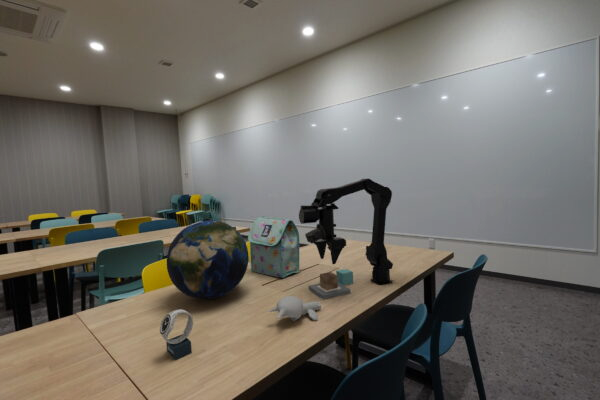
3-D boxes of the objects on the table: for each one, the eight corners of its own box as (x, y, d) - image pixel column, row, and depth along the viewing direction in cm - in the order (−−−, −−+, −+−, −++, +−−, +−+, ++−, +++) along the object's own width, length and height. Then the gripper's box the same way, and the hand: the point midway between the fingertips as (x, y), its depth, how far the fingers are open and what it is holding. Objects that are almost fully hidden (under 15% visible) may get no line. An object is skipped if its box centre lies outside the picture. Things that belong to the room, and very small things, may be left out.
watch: (159, 355, 76) (156, 313, 76) (189, 342, 82) (186, 304, 81) (166, 364, 72) (163, 320, 72) (198, 350, 78) (195, 309, 77)
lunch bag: (246, 272, 144) (243, 218, 142) (271, 264, 156) (268, 214, 155) (280, 281, 129) (277, 220, 127) (304, 271, 141) (301, 216, 140)
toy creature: (334, 305, 94) (286, 316, 81) (327, 324, 96) (279, 339, 83) (309, 283, 103) (263, 290, 90) (303, 301, 105) (256, 311, 92)
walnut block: (331, 284, 118) (330, 271, 118) (337, 287, 113) (337, 275, 113) (320, 286, 116) (319, 274, 116) (326, 290, 111) (325, 277, 111)
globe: (213, 279, 136) (208, 215, 134) (265, 288, 121) (261, 216, 119) (152, 304, 110) (146, 225, 108) (209, 320, 95) (203, 228, 93)
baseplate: (334, 283, 123) (334, 280, 123) (350, 293, 112) (350, 289, 112) (308, 289, 118) (308, 285, 118) (323, 299, 107) (322, 295, 107)
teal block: (346, 280, 127) (346, 268, 127) (353, 283, 122) (352, 271, 122) (336, 282, 125) (336, 270, 125) (343, 285, 120) (342, 273, 120)
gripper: (297, 221, 118) (299, 259, 119) (319, 226, 101) (320, 270, 102) (321, 218, 123) (323, 255, 124) (346, 223, 106) (347, 265, 107)
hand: (327, 261), depth 114 cm, fingers open, 9 cm apart
